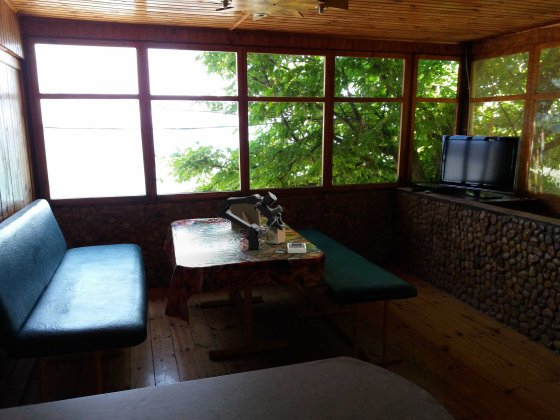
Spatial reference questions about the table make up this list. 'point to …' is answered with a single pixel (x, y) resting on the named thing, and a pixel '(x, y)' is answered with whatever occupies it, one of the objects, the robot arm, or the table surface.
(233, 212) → the photo frame
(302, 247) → the socket box
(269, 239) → the coffee box
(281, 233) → the plug
